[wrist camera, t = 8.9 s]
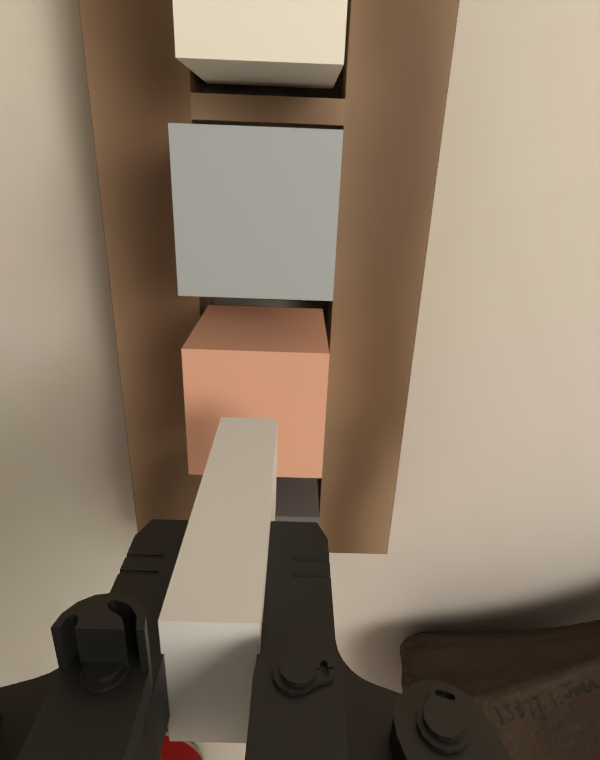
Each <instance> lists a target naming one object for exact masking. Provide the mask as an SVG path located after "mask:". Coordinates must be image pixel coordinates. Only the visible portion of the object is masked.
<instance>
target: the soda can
mask: <svg viewBox="0 0 600 760" xmlns="http://www.w3.org/2000/svg"><path fill="white" fill-rule="evenodd" d="M161 758H162V760H204V759H203V756H202V754H201V752H200V751H199V750H198V748H197V747H196V746H195V745H194V744H192V743H191V742H184V741H170V740H169V731H167V730H166V734H165V739H164V743H163V747H162V751H161Z"/></svg>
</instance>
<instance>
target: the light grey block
mask: <svg viewBox="0 0 600 760" xmlns="http://www.w3.org/2000/svg"><path fill="white" fill-rule="evenodd" d="M168 132H169V149H170V166H171V183H172V200H173V217H174V234H175V251H176V268H177V285H178V296H201V297H230V298H259V299H288V300H317V301H333V290H334V274H335V258H336V242H337V226H338V210H339V194H340V178H341V162H342V146H343V130H336V129H311V128H285V127H260V126H235V125H210V124H185V123H168Z"/></svg>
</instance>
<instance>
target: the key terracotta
mask: <svg viewBox="0 0 600 760" xmlns="http://www.w3.org/2000/svg"><path fill="white" fill-rule="evenodd" d="M181 352H182V369H183V386H184V403H185V420H186V437H187V454H188V471H189V474H194V475H203V474H204V470H205V467H206V464H207V461H208V457H209V454H210V451H211V448H212V445H213V441H214V438H215V435H216V432H217V428H218V425H219V422H220V419H221V417H237V418H269V419H278V425H277V472H276V477H297V478H322V467H323V451H324V435H325V419H326V403H327V387H328V371H329V355H330V353H329V347H328V340H327V334H326V328H325V321H324V315H323V309H316V308H287V307H258V306H228V305H208V307H207V308H206V310H205V311H204V313H203V315H202V316H201V318H200V320H199V321H198V323H197V324H196V326H195V328H194V329H193V331H192V332H191V334H190V336H189V337H188V339H187V340H186V342H185V344H184V345H183V347H182V348H181Z"/></svg>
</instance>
